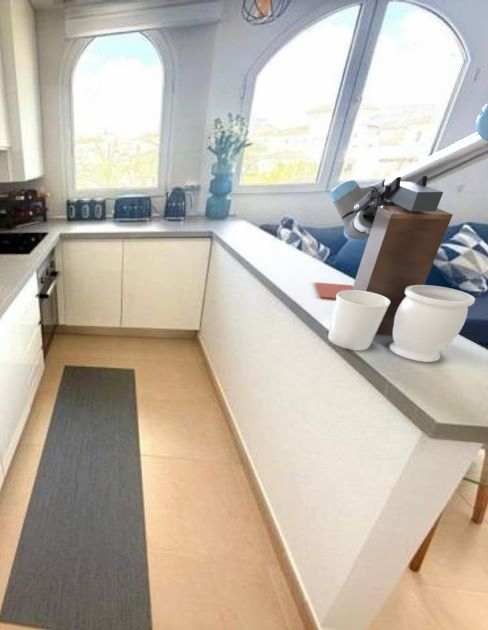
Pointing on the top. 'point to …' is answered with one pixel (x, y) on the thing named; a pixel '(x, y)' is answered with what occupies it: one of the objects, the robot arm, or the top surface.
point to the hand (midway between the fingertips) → (411, 182)
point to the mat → (331, 290)
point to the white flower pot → (356, 318)
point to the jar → (428, 321)
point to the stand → (399, 255)
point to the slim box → (416, 197)
